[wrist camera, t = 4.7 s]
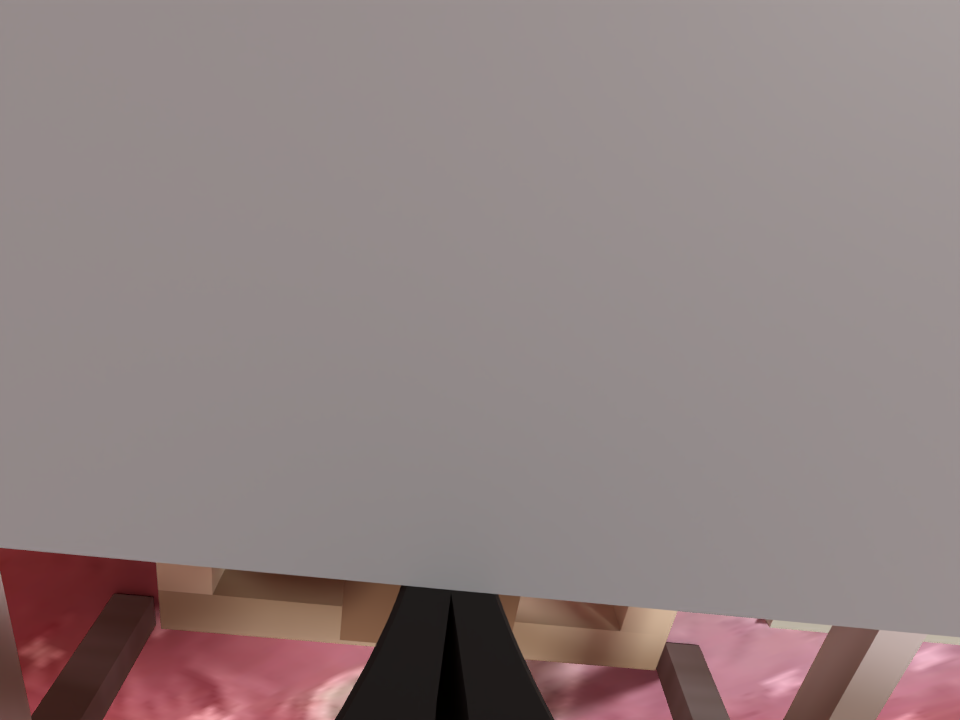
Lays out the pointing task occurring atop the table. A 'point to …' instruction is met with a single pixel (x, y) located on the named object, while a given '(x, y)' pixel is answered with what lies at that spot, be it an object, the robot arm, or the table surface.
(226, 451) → the sliding cover
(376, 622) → the walnut block
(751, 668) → the table surface
